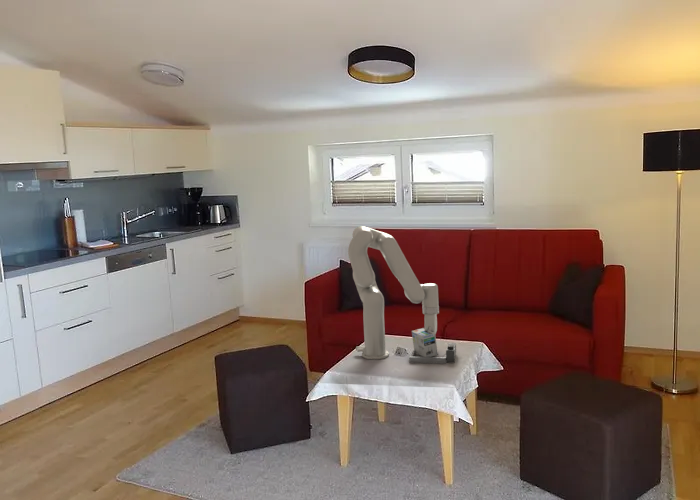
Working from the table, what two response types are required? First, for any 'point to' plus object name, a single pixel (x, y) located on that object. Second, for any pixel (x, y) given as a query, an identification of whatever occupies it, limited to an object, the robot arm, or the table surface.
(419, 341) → the light bulb box
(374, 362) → the table surface
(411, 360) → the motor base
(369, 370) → the table surface
